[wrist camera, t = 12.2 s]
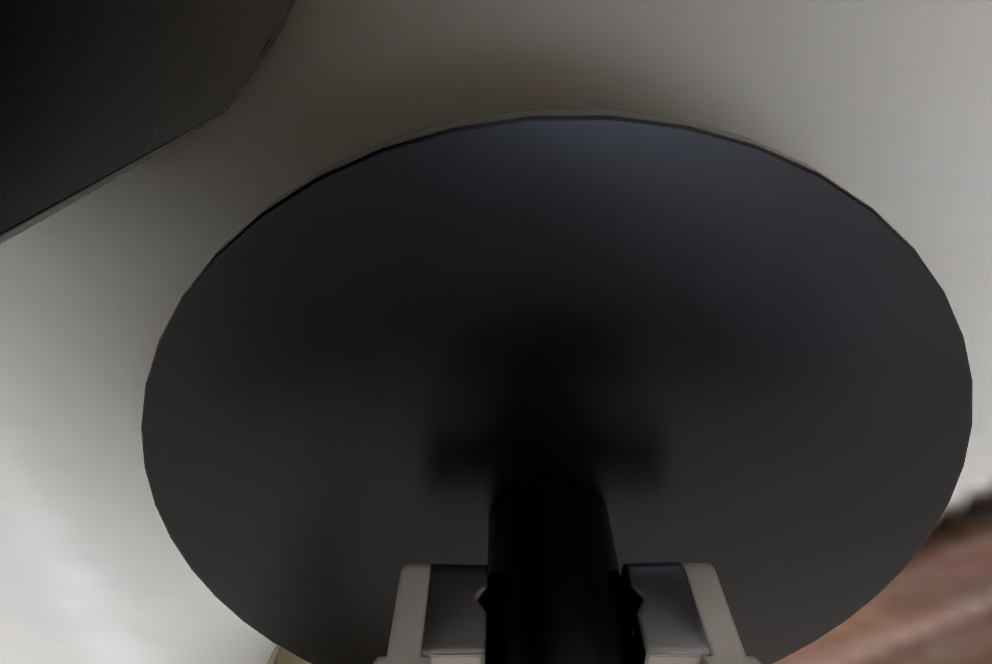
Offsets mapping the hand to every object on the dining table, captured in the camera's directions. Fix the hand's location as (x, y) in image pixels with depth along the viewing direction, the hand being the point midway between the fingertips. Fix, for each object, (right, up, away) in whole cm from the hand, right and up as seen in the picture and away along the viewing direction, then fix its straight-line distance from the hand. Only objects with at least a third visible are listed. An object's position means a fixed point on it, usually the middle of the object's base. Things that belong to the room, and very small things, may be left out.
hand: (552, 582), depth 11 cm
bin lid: (0, +1, +2) cm, 2 cm away
